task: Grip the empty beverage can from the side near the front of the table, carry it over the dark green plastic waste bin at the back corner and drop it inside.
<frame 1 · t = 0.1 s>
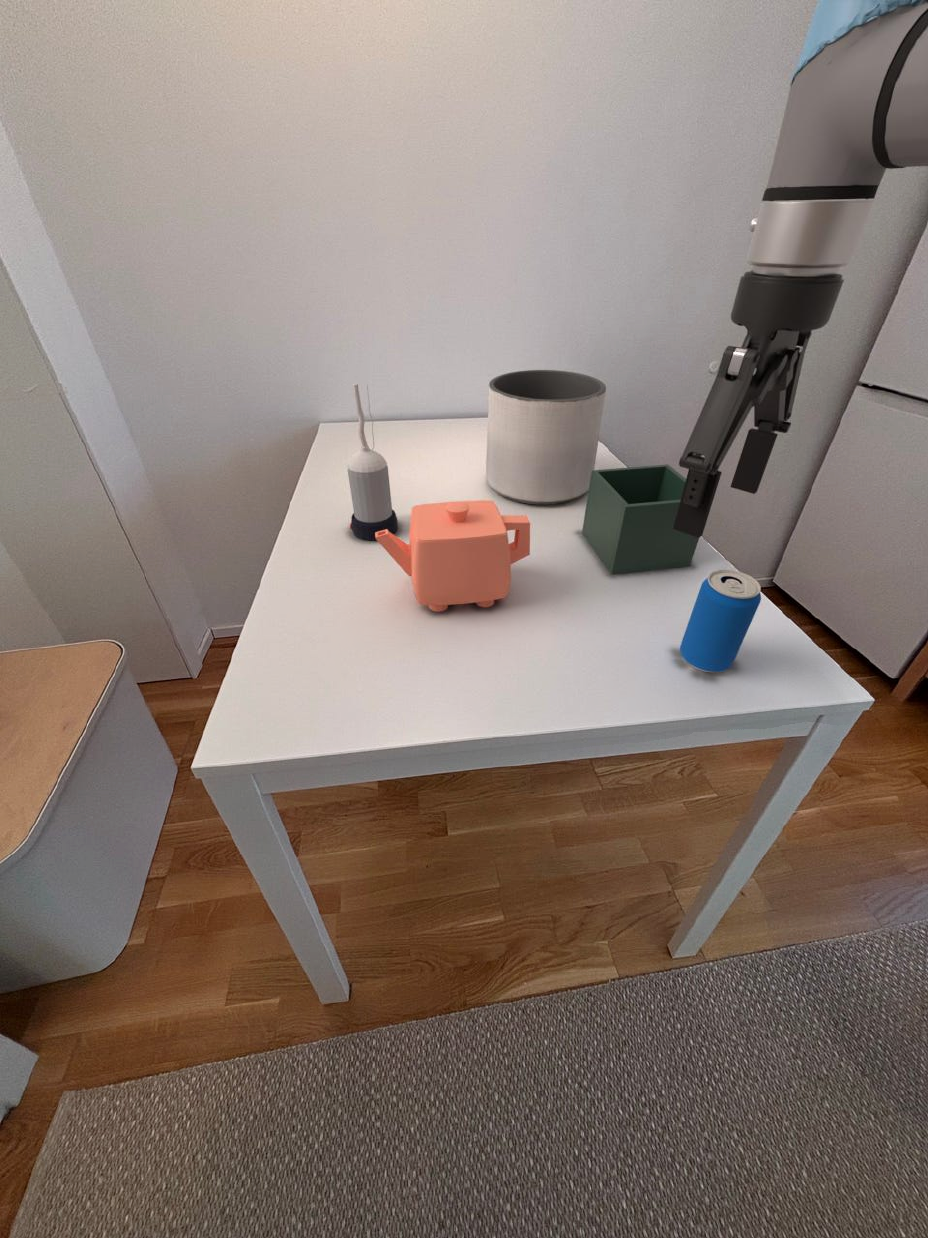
hand: (717, 509, 55), 21 cm above the table, tool pointing down, fingers open, 13 cm apart
waste bin: (633, 548, 88), on the table
teapot: (455, 591, 79), on the table
humidifier: (375, 530, 94), on the table
beverage can: (703, 660, 67), on the table
planter: (537, 485, 109), on the table
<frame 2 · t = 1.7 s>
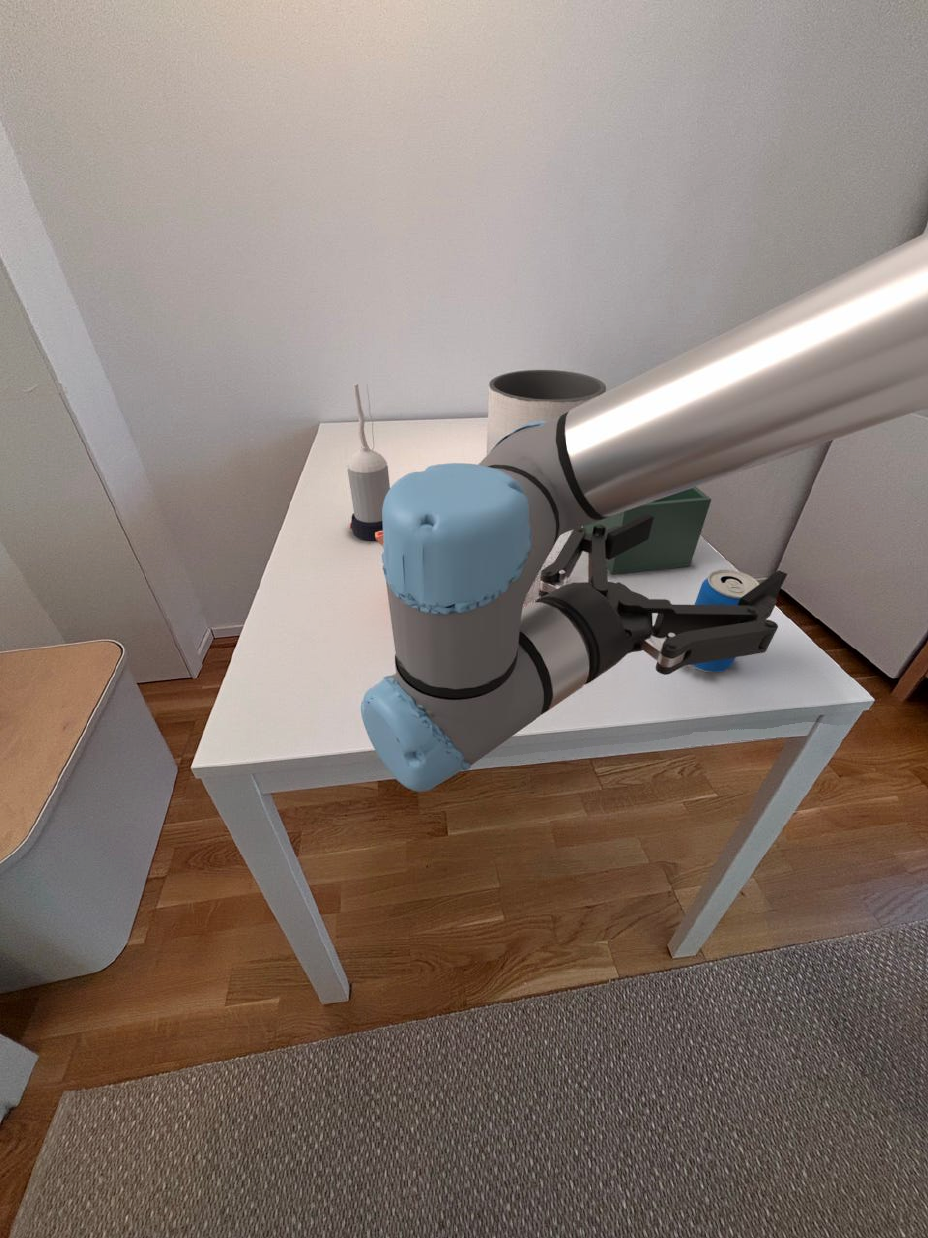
hand: (707, 553, 50), 20 cm above the table, tool horizontal, fingers open, 13 cm apart
nothing on the table moved.
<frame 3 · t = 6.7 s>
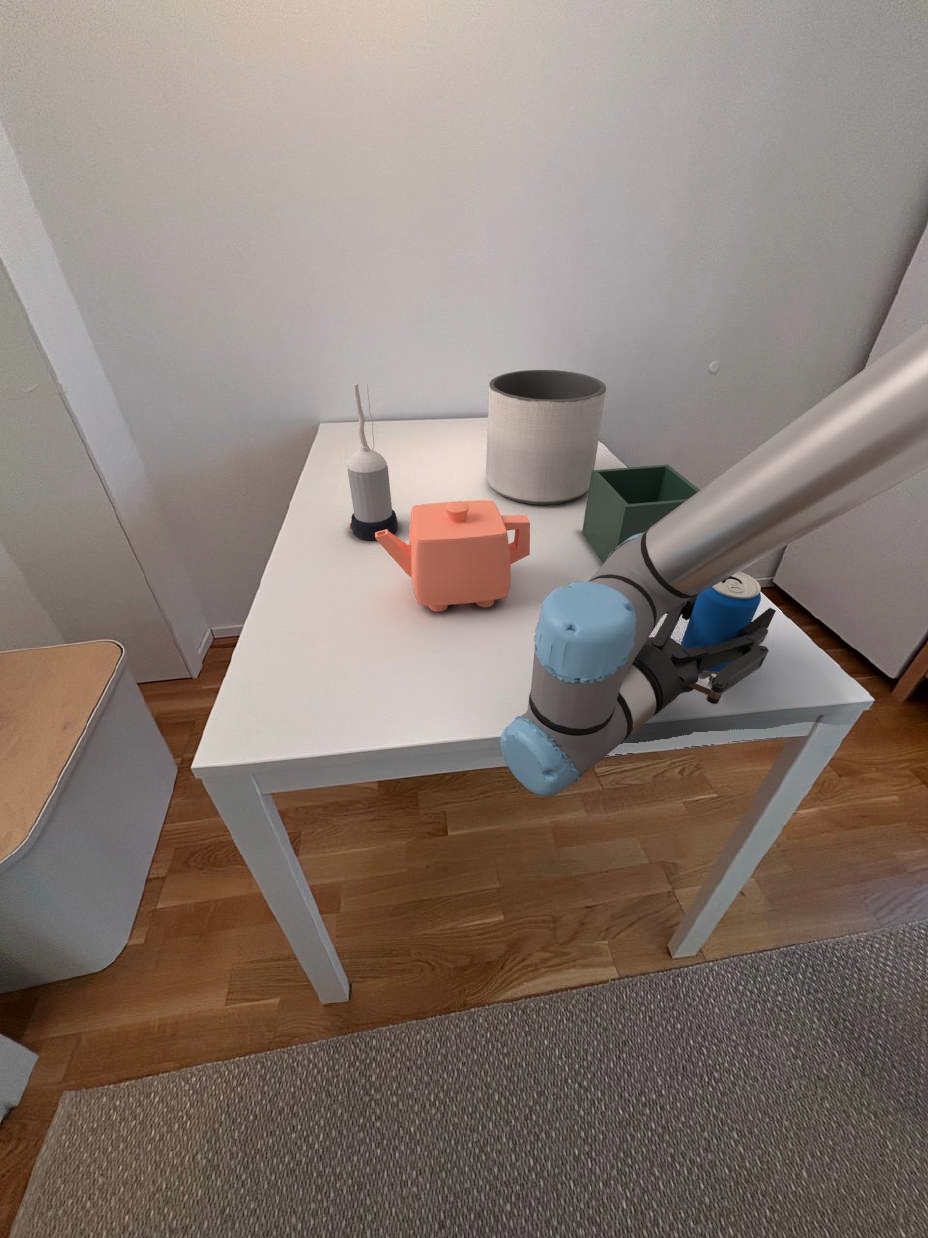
hand: (740, 604, 65), 6 cm above the table, tool horizontal, fingers closed on beverage can, 6 cm apart
beverage can: (703, 660, 67), on the table, touching gripper
everything else where it was.
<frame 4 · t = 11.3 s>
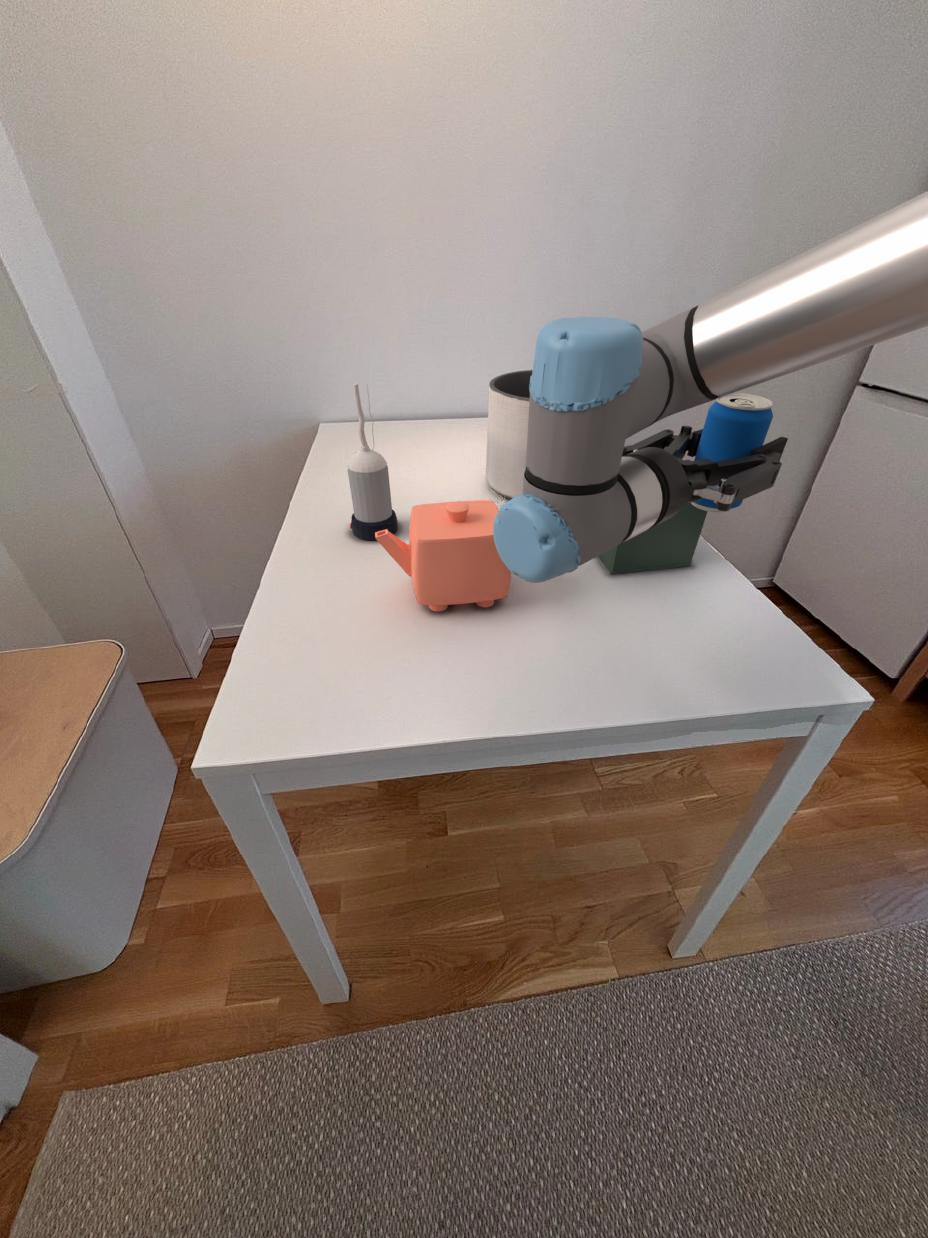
hand: (750, 440, 61), 24 cm above the table, tool horizontal, fingers closed on beverage can, 6 cm apart
beverage can: (710, 504, 63), point 17 cm above the table, touching gripper
everything else where it was.
when the fingers open (18 cm above the table, at t = 15.8 s): beverage can drops 11 cm, resting on waste bin.
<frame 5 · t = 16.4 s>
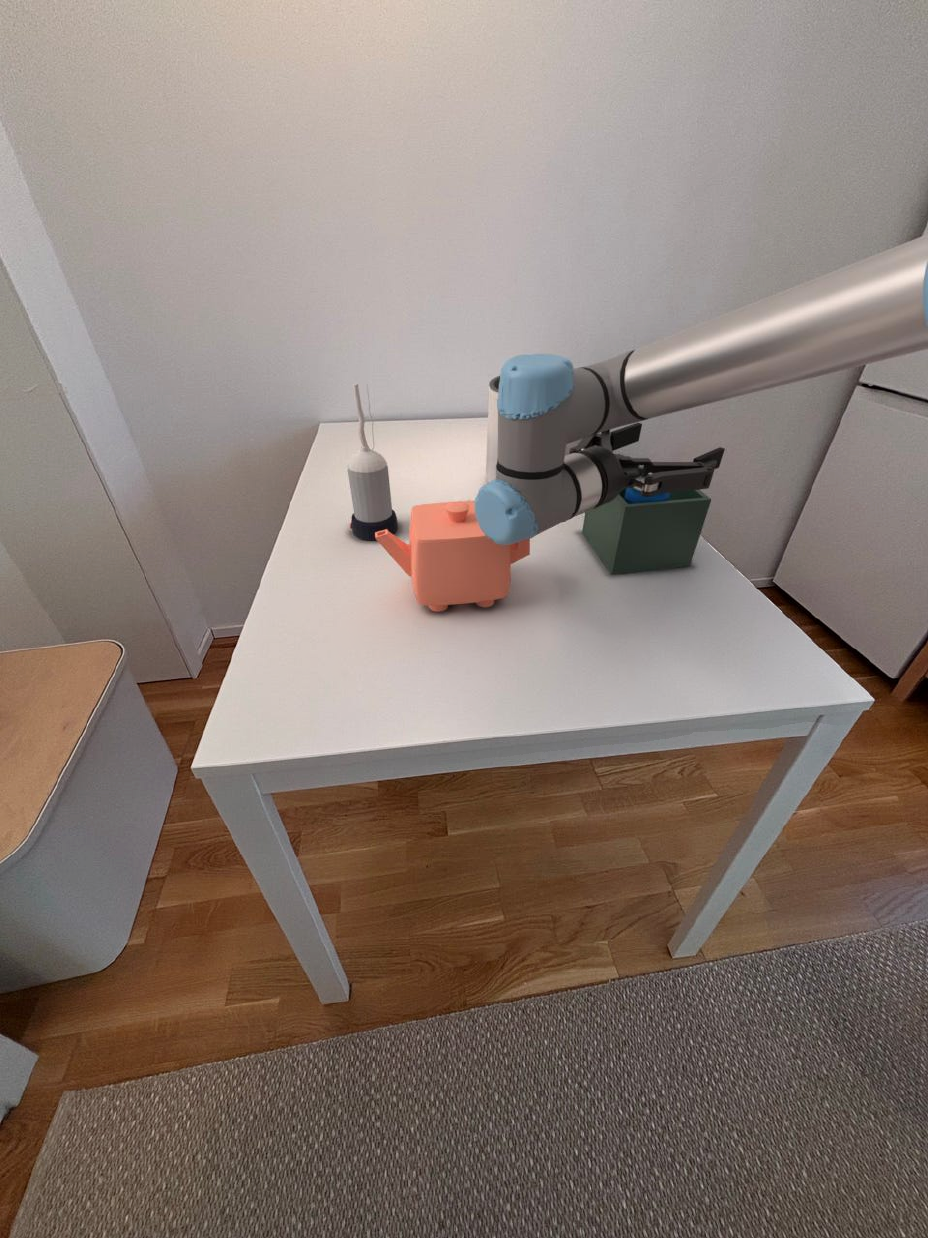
hand: (676, 443, 76), 18 cm above the table, tool horizontal, fingers open, 13 cm apart
beverage can: (633, 552, 86), point 1 cm above the table, touching waste bin
everything else where it was.
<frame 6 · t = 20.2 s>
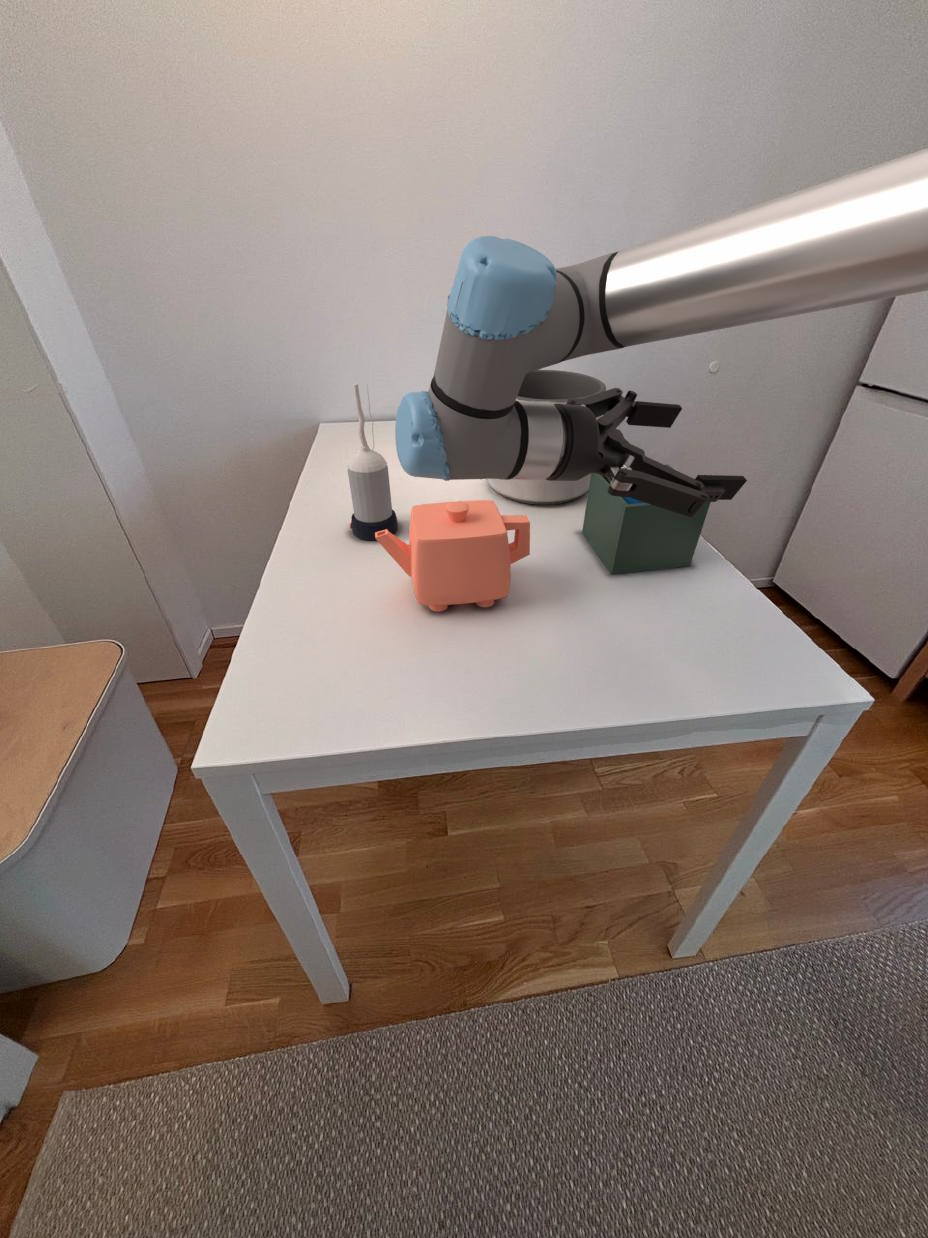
hand: (704, 450, 61), 24 cm above the table, tool horizontal, fingers open, 13 cm apart
nothing on the table moved.
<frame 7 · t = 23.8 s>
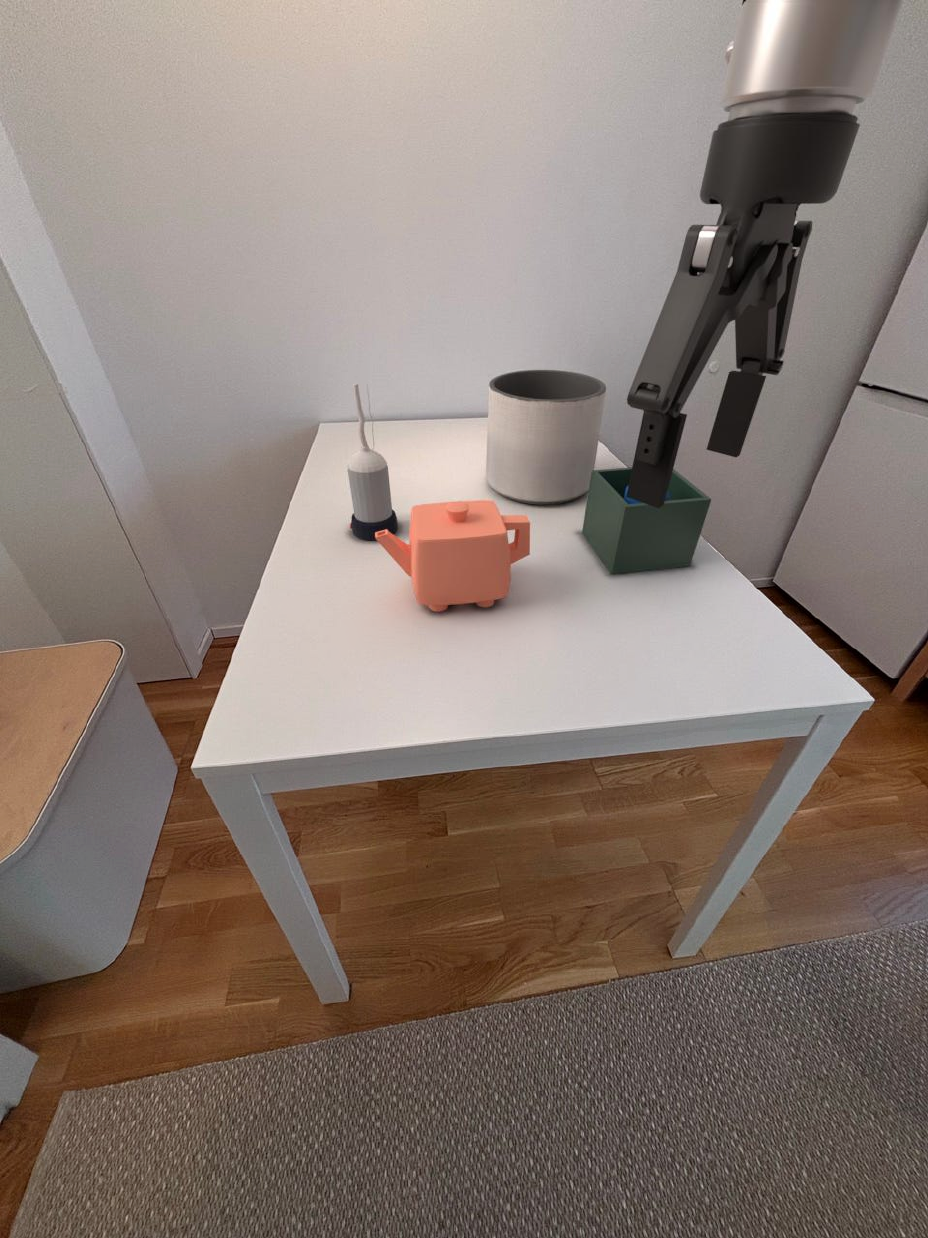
hand: (687, 475, 42), 29 cm above the table, tool pointing down, fingers open, 13 cm apart
nothing on the table moved.
at the end: beverage can inside the target area in the waste bin (2.5 cm from its centre), point 0.6 cm above the waste bin's base; the gripper is holding nothing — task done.
